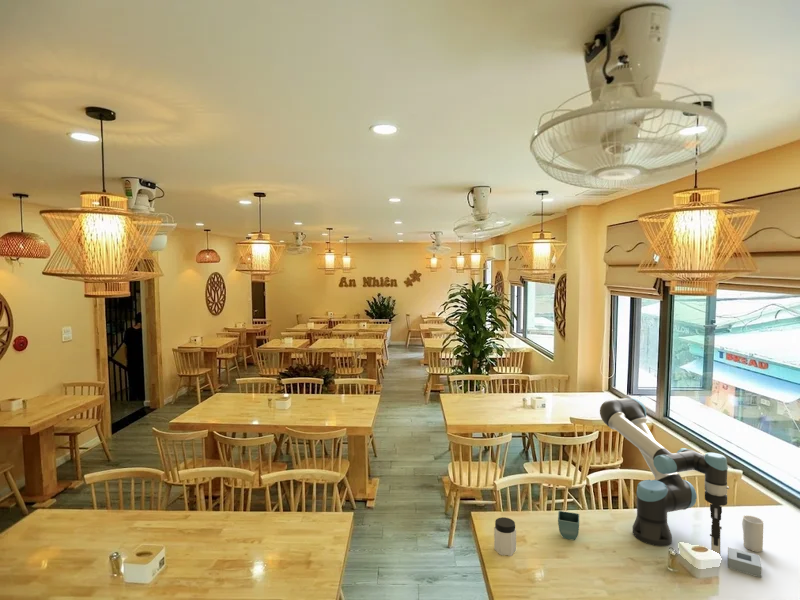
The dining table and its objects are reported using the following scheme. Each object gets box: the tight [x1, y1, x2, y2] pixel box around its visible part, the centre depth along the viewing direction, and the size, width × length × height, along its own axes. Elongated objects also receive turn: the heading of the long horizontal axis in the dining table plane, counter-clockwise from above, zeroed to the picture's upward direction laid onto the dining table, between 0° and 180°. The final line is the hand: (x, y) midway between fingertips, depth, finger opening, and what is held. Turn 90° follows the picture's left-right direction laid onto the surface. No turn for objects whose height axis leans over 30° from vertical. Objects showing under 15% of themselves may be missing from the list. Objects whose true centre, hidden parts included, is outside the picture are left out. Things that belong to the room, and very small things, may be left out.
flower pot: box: [557, 510, 580, 541], centre depth 195 cm, size 9×9×9 cm
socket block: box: [727, 546, 762, 578], centre depth 173 cm, size 10×9×4 cm
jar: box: [493, 517, 517, 557], centre depth 185 cm, size 9×8×12 cm
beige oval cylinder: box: [741, 515, 764, 553], centre depth 187 cm, size 10×7×12 cm, turn 172°
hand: (715, 548), depth 180 cm, fingers open, 6 cm apart
